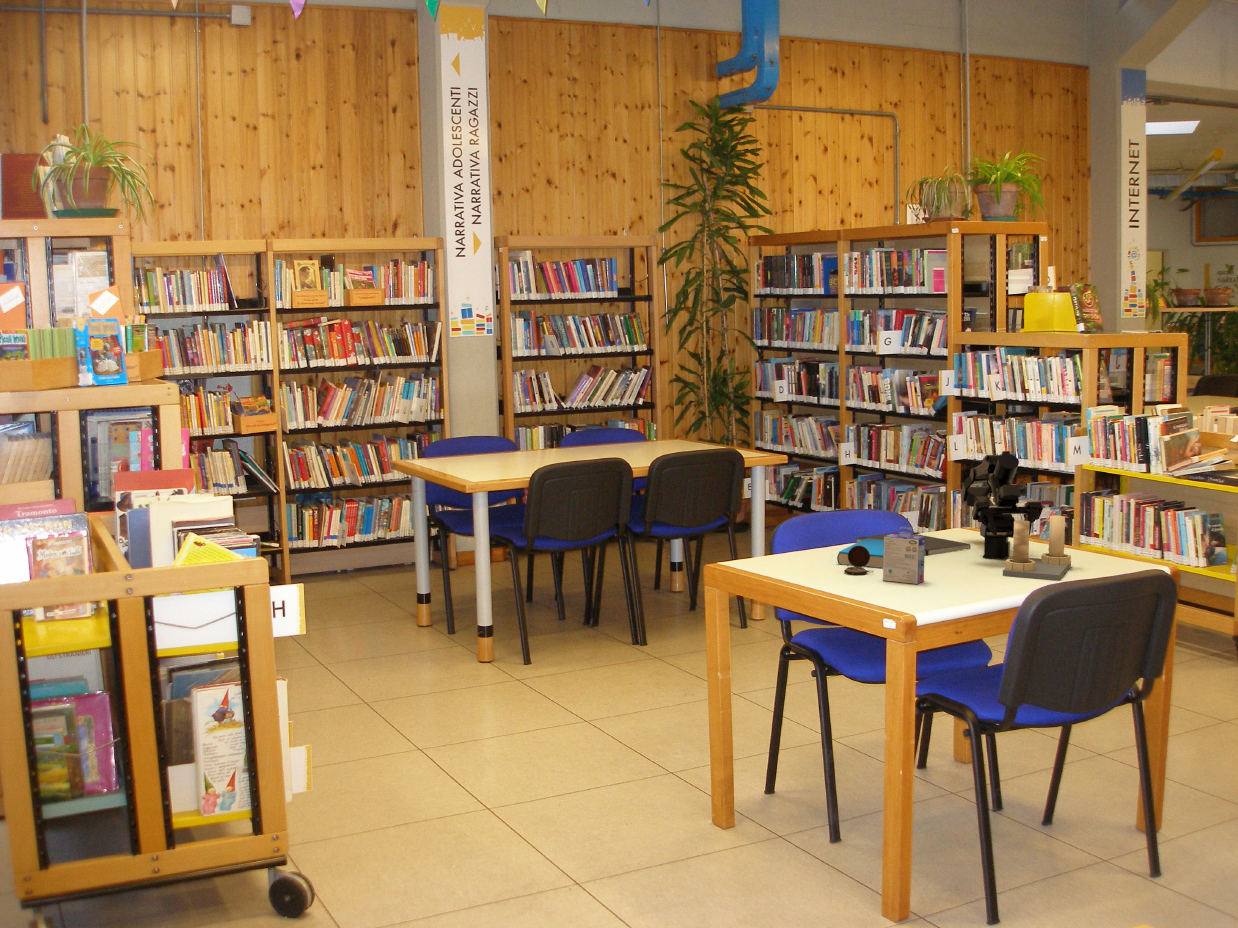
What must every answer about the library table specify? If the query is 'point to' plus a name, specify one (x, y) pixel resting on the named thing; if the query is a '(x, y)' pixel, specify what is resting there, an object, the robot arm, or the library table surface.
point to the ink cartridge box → (904, 557)
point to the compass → (858, 560)
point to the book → (874, 549)
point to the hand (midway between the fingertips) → (1012, 534)
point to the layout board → (1040, 571)
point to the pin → (1021, 541)
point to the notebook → (929, 544)
